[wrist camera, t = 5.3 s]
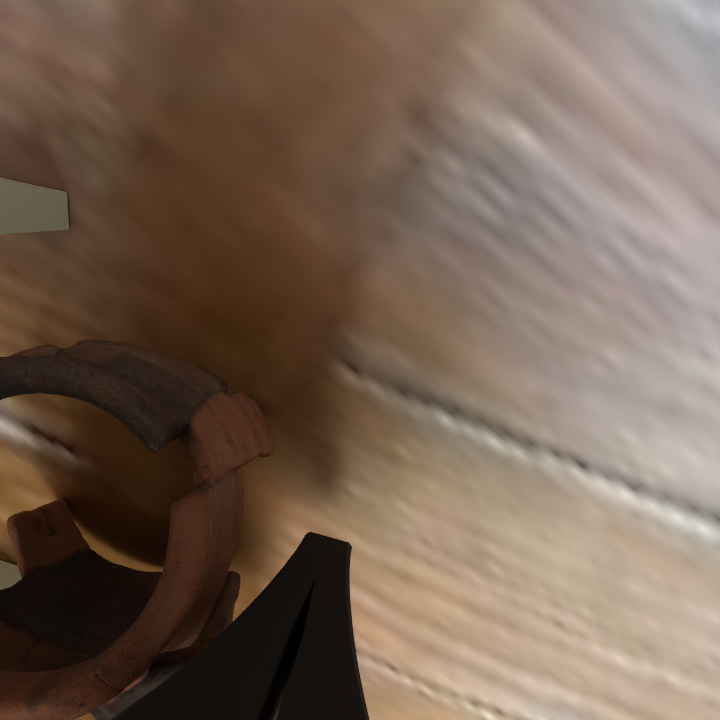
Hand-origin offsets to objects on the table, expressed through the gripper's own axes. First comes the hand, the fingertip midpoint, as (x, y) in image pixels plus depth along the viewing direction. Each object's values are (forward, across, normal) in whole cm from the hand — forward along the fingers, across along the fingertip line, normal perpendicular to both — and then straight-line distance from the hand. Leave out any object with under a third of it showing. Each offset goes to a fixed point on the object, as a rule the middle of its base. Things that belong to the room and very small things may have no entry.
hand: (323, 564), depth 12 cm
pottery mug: (+2, +6, +1) cm, 6 cm away
